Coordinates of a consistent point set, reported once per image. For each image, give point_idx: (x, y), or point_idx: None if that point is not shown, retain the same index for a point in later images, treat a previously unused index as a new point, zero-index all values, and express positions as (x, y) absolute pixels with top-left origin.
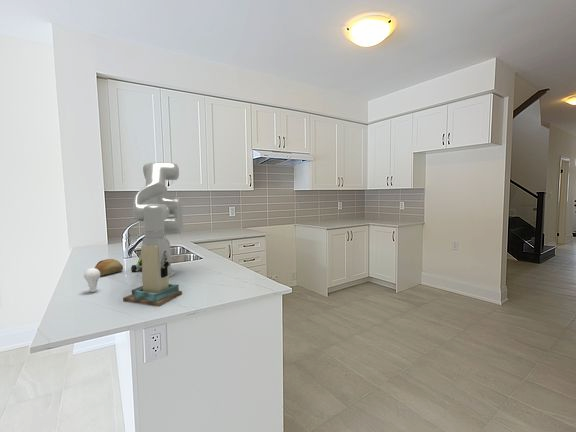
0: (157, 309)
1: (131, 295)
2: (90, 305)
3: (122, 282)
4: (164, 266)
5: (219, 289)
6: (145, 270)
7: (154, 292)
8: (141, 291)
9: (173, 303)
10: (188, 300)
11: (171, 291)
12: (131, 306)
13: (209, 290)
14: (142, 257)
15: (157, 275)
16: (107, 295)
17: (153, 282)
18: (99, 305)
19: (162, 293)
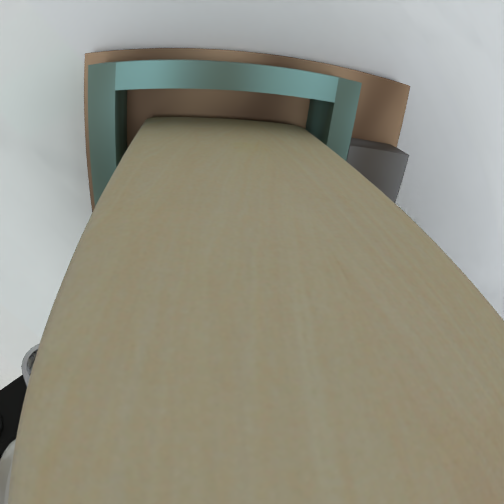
0: (67, 17)
1: (383, 126)
2: (491, 29)
3: (481, 288)
4: (26, 374)
5: (17, 355)
6: (367, 229)
7: (177, 124)
8: (293, 90)
9: (40, 135)
10: (4, 207)
11: None
12: (287, 4)
13: (37, 340)
14: None
15: (102, 202)
16: (491, 153)
17: (182, 151)
18: (462, 24)
19: (92, 131)
